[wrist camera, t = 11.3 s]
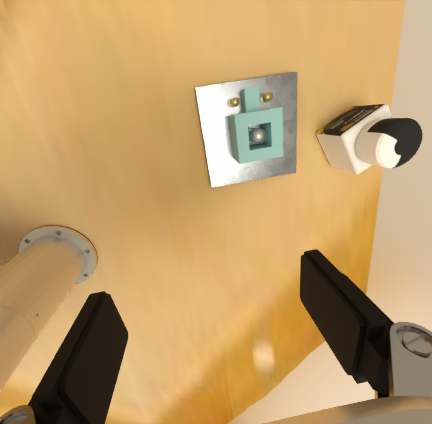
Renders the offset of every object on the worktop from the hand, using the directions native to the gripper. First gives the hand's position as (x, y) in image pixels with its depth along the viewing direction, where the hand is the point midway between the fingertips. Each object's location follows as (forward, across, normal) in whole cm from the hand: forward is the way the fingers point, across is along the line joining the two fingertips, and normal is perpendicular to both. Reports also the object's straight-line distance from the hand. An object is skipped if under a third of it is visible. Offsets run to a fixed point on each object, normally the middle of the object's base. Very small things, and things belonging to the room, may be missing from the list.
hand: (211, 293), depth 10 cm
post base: (+28, -10, -4) cm, 30 cm away
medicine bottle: (+28, -26, -1) cm, 39 cm away
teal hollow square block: (+27, -10, -6) cm, 29 cm away
